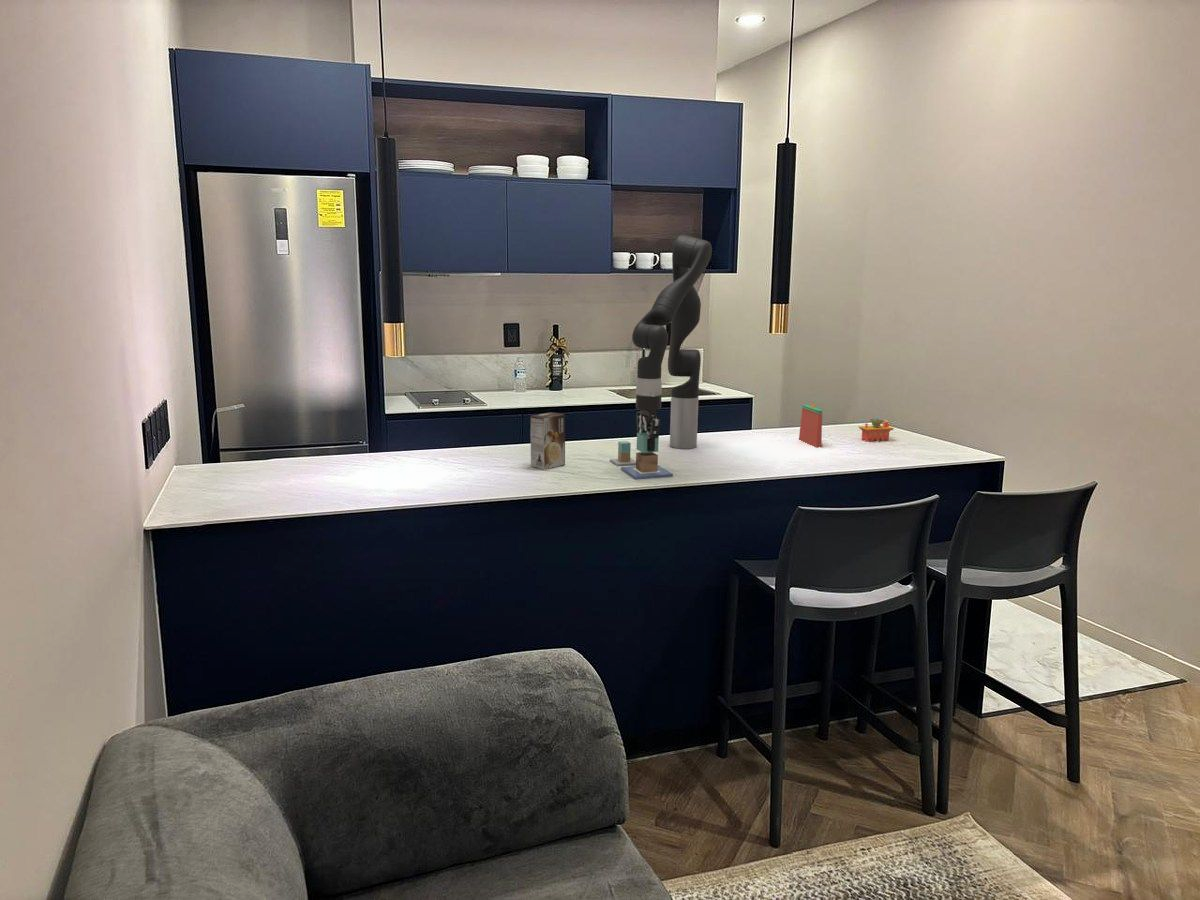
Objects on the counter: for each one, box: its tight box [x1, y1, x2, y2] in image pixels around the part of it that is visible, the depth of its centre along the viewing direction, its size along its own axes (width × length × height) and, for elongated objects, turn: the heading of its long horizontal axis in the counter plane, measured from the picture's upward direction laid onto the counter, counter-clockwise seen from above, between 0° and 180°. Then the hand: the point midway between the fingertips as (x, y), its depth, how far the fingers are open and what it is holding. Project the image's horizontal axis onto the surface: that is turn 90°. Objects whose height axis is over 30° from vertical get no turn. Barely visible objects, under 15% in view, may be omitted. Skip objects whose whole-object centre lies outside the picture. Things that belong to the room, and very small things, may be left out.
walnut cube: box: [635, 451, 659, 473], centre depth 261 cm, size 5×5×5 cm
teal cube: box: [636, 432, 660, 453], centre depth 260 cm, size 5×5×5 cm
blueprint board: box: [620, 464, 674, 480], centre depth 262 cm, size 12×12×1 cm
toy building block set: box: [798, 403, 895, 449], centre depth 308 cm, size 12×35×14 cm, turn 106°
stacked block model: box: [609, 440, 636, 467], centre depth 273 cm, size 7×7×7 cm
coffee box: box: [529, 411, 566, 470], centre depth 267 cm, size 9×6×16 cm
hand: (647, 448), depth 260 cm, fingers closed on teal cube, 5 cm apart
